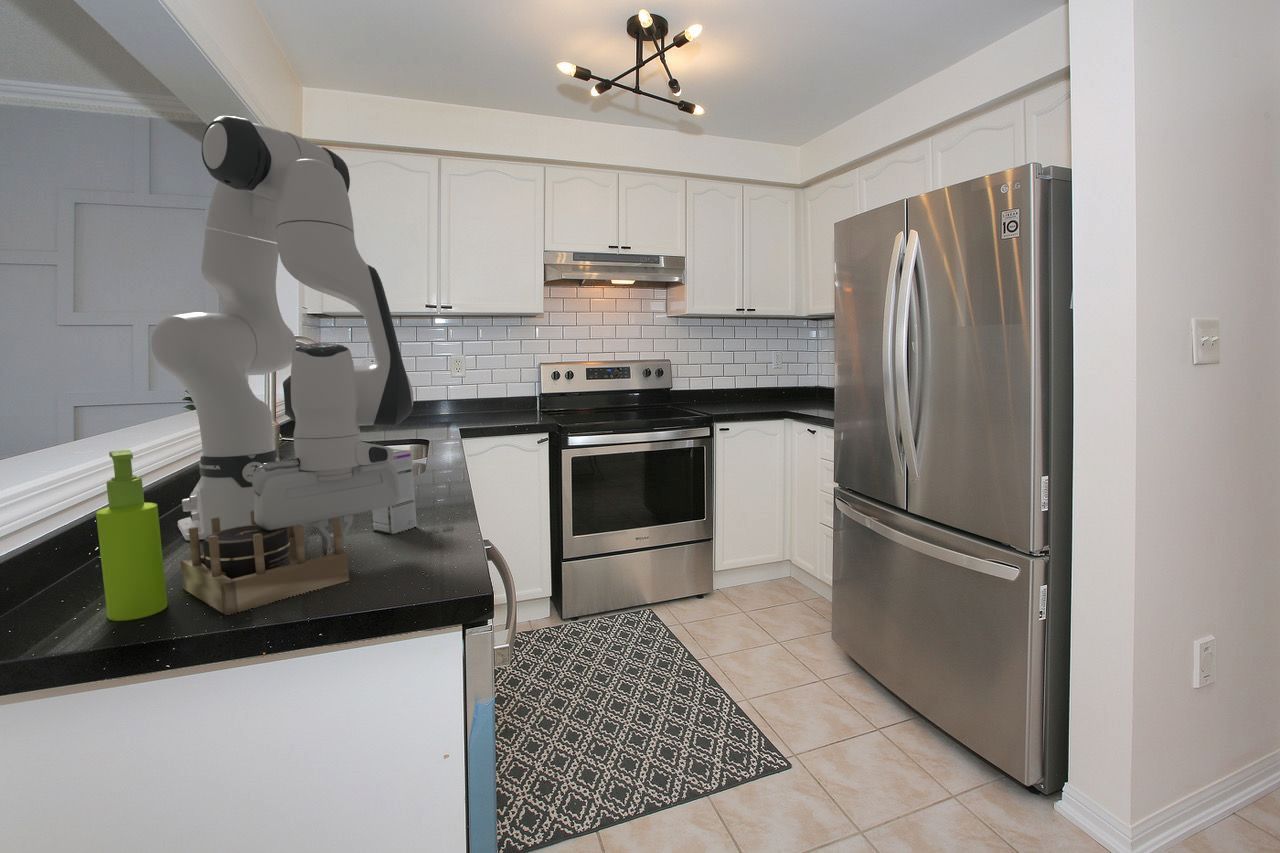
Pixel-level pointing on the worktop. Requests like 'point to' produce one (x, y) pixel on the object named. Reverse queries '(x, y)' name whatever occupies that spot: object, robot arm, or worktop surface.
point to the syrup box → (404, 510)
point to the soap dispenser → (130, 546)
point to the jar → (248, 550)
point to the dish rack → (261, 572)
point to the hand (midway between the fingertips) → (334, 546)
